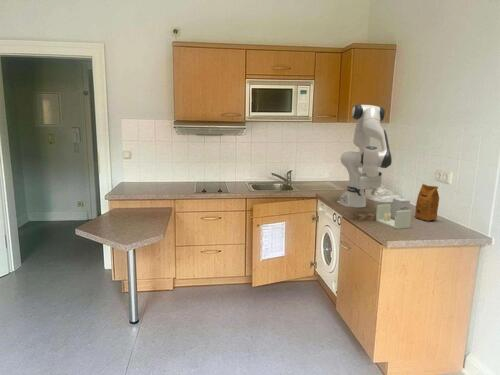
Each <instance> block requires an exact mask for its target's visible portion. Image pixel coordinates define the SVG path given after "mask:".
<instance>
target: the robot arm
mask: <svg viewBox="0 0 500 375" xmlns="http://www.w3.org/2000/svg"><path fill="white" fill-rule="evenodd" d="M385 116H386V109H385V108H384V107H383V106H377V105H372V104H358V103H357V104H355V105H354V106H353V107H352V110H351V117H352V118H353V120H357V122H356V124H355V128H354V135H353V140H352V141H353V144H354V145H355V146H356V147H357V148H359V151H345V152H343V153H342V154H341V156H340V163H341V164H342V166H344V167H345V168H346V171H347V173H348V186H346V188H347V190H346V191H344V192H343V193H341V196H340V199H339V200H337V201H336V202H337V203H338V204H339V205H342V206H343V207H349V208H359V209H361V208H366V207H367V202H366V201H367V200H366V193H365V192H366V190H368V189H371V192H370V195H372V196H374V195H376V194H375V192H376V191H377V188H380V187H381V186H382V180H383V179H382V178H383V177H382V176H383V172H381V171H379V168H382V169H387V168H389V167H390V166H392V162H393V156H392V153H391V151H390V146H389V139H388V134H387V132H386V130H385V129H384V128H383V127H382V125H381V122H382V121H383V120H384V119H385ZM371 138H373V139H375V140H378V141H379V142H380V145H381V150H382V151H379V148H378V147H376V146H371ZM359 168H360V169H361V171H360V169H359Z"/></svg>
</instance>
